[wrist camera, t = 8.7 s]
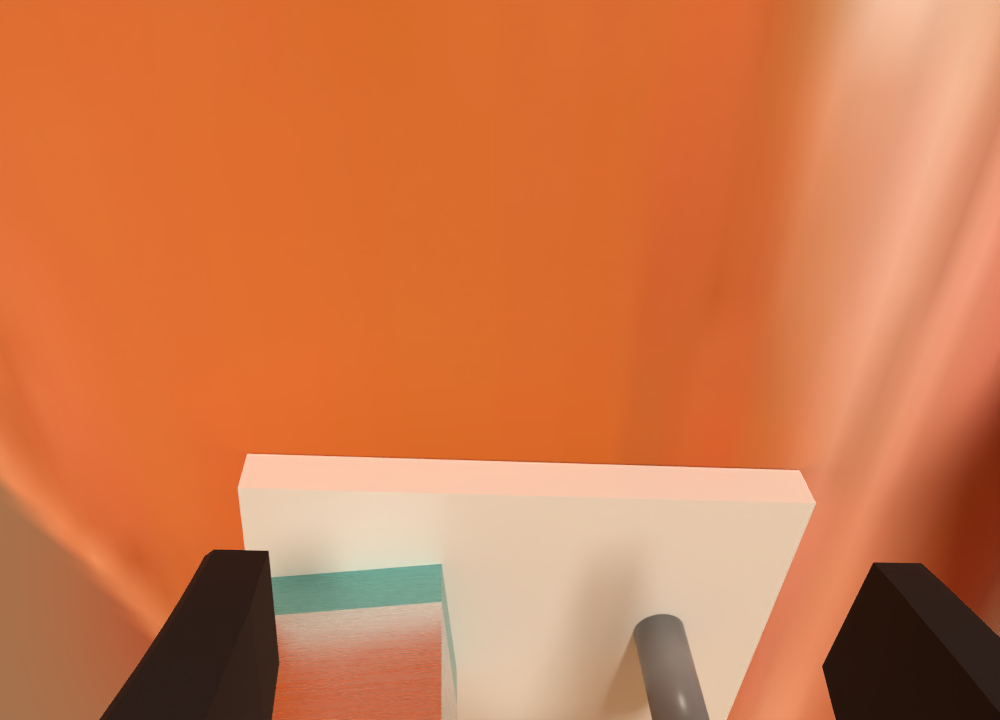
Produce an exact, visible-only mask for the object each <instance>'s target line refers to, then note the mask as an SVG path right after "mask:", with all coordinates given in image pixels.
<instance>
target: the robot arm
mask: <svg viewBox="0 0 1000 720" xmlns="http://www.w3.org/2000/svg"><path fill="white" fill-rule="evenodd" d="M822 667H823V671H824V675H825V679H826V683H827V687H828V691H829V695H830V699H831V703H832V707H833V711H834V714H835V718H836V720H1000V637H999V636H998V635H997V634H995V633H994V632H993V631H992V630H991V629H990V628H989V627H988V626H987V625H986V624H985V623H984V622H983V621H982V620H981V619H980V618H979V617H978V616H977V615H976V614H975V613H974V612H973V611H972V610H971V609H970V608H968V607H967V606H966V605H965V604H964V603H963V602H962V601H961V600H960V599H959V598H958V597H957V596H956V595H955V594H954V593H953V592H952V591H951V590H950V589H949V588H947V587H946V586H945V585H944V584H943V583H942V582H941V581H940V580H939V579H938V578H937V577H936V576H935V575H933V574H932V573H931V572H930V571H929V570H928V569H927V568H926V567H925V566H924V565H922V564H921V563H873V565H872V567H871V569H870V571H869V573H868V575H867V577H866V579H865V581H864V583H863V585H862V587H861V589H860V591H859V593H858V595H857V597H856V599H855V601H854V603H853V605H852V607H851V609H850V611H849V613H848V615H847V617H846V619H845V621H844V623H843V625H842V627H841V629H840V631H839V633H838V635H837V637H836V639H835V641H834V643H833V646H832V648H831V650H830V652H829V654H828V656H827V658H826V660H825V662H824V664H823V666H822ZM278 669H279V653H278V643H277V632H276V622H275V611H274V601H273V591H272V580H271V570H270V559H269V551H260V550H213V551H211V552H210V553H209V554H207V555H206V556H205V557H204V558H203V560H202V562H201V564H200V566H199V568H198V569H197V571H196V573H195V575H194V576H193V578H192V580H191V582H190V583H189V585H188V587H187V588H186V590H185V592H184V593H183V595H182V597H181V599H180V600H179V602H178V603H177V605H176V607H175V608H174V610H173V612H172V613H171V615H170V616H169V618H168V620H167V621H166V623H165V624H164V626H163V627H162V629H161V631H160V632H159V634H158V635H157V637H156V638H155V640H154V641H153V643H152V644H151V646H150V647H149V649H148V650H147V652H146V654H145V655H144V657H143V658H142V660H141V661H140V663H139V664H138V666H137V667H136V668H135V670H134V671H133V673H132V674H131V675H130V677H129V678H128V680H127V681H126V683H125V684H124V686H123V687H122V688H121V690H120V691H119V693H118V694H117V696H116V697H115V698H114V700H113V701H112V703H111V704H110V705H109V707H108V708H107V710H106V711H105V713H104V714H103V716H102V717H101V718H100V720H272V714H273V707H274V699H275V692H276V684H277V676H278Z"/></svg>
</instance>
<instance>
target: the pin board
mask: <svg viewBox="0 0 1000 720" xmlns="http://www.w3.org/2000/svg"><path fill="white" fill-rule="evenodd" d="M238 495H239V503H240V511H241V520H242V528H243V537H244V545H245V550H260V551H269V559H270V570H271V577H283V576H295V575H308V574H320V573H333V572H345V571H358V570H370V569H383V568H395V567H408V566H420V565H433V564H442V569H443V576H444V583H445V590H446V597H447V605H448V612H449V619H450V626H451V633H452V640H453V647H454V654H455V661H456V668H457V720H727V717H728V715H729V712H730V710H731V707H732V705H733V703H734V700H735V698H736V695H737V693H738V691H739V688H740V686H741V683H742V681H743V678H744V676H745V674H746V671H747V669H748V666H749V664H750V662H751V659H752V657H753V654H754V652H755V649H756V647H757V645H758V642H759V640H760V637H761V635H762V632H763V630H764V628H765V625H766V623H767V620H768V618H769V616H770V613H771V611H772V608H773V606H774V603H775V601H776V599H777V596H778V594H779V591H780V589H781V587H782V584H783V582H784V579H785V577H786V574H787V572H788V570H789V567H790V565H791V562H792V560H793V558H794V555H795V553H796V550H797V548H798V545H799V543H800V541H801V538H802V536H803V533H804V531H805V529H806V526H807V524H808V521H809V519H810V516H811V514H812V512H813V509H814V507H815V504H816V502H815V500H814V498H813V496H812V494H811V492H810V490H809V488H808V486H807V484H806V482H805V480H804V478H803V476H802V474H801V472H800V470H772V469H738V468H705V467H672V466H638V465H605V464H572V463H538V462H505V461H471V460H438V459H405V458H371V457H338V456H305V455H271V454H247V457H246V460H245V464H244V468H243V471H242V475H241V478H240V482H239V485H238Z"/></svg>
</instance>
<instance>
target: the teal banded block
mask: <svg viewBox="0 0 1000 720" xmlns="http://www.w3.org/2000/svg"><path fill="white" fill-rule="evenodd" d="M271 580H272V591H273V601H274V611H275V622H276V632H277V643H278V653H279V669H278V676H277V684H276V692H275V699H274V707H273V714H272V720H457V668H456V661H455V654H454V647H453V640H452V633H451V626H450V619H449V612H448V605H447V597H446V590H445V583H444V576H443V569H442V564H433V565H420V566H408V567H395V568H383V569H370V570H358V571H345V572H333V573H320V574H308V575H295V576H283V577H271Z"/></svg>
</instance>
